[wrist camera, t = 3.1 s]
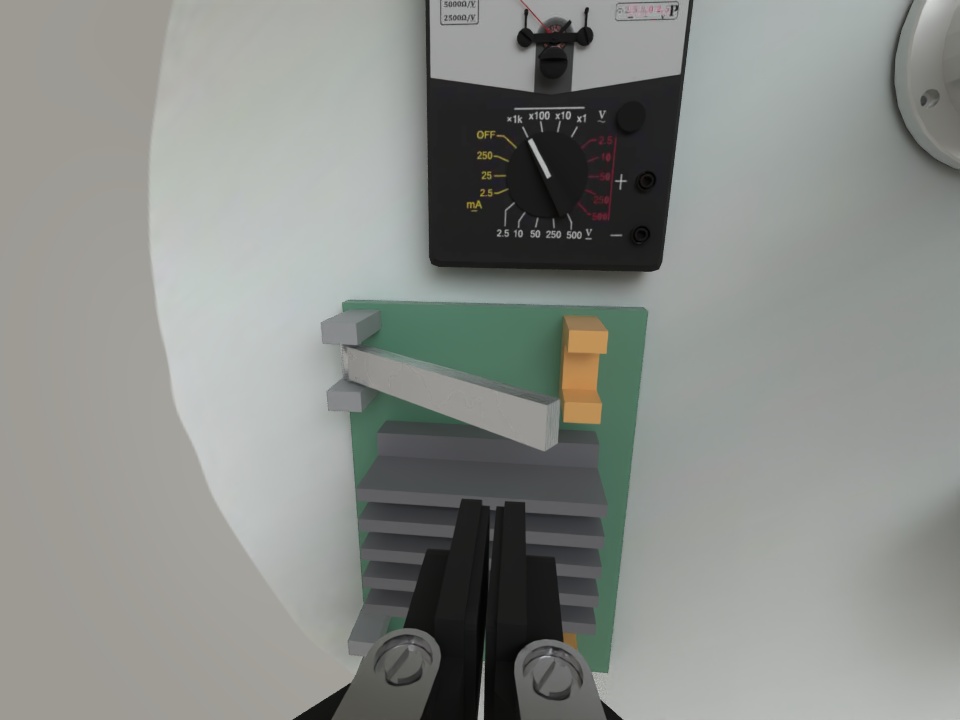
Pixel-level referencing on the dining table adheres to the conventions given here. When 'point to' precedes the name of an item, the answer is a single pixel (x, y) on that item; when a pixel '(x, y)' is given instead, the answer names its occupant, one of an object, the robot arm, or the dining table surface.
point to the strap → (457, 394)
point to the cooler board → (530, 369)
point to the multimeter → (552, 131)
